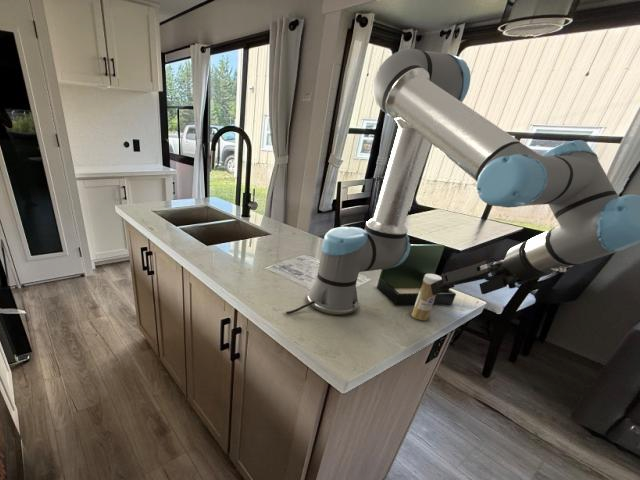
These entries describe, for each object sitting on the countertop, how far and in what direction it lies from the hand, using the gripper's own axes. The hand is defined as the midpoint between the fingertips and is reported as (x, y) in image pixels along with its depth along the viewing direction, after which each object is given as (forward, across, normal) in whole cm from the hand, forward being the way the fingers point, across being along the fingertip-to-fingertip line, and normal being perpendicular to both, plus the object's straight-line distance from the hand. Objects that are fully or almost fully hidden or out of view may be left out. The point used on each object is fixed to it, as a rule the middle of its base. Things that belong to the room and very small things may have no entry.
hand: (457, 289), depth 83 cm
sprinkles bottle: (+17, 0, -4) cm, 17 cm away
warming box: (+26, +6, +6) cm, 27 cm away
